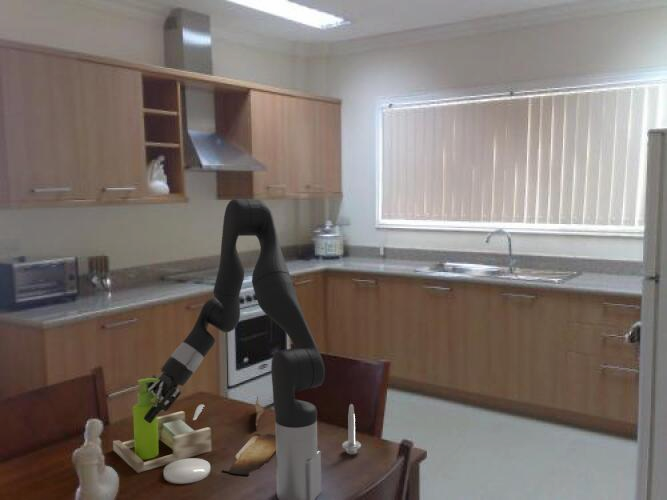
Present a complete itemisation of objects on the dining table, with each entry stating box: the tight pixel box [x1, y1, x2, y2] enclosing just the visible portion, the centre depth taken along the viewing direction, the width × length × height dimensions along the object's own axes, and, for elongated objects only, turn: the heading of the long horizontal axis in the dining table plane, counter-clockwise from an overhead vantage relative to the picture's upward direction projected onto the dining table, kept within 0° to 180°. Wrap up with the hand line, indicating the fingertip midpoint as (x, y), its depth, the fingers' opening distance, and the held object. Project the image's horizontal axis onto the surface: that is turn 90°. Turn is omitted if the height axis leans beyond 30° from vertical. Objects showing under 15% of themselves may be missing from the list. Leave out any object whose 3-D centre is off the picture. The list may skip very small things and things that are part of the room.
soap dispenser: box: [132, 377, 160, 461], centre depth 158 cm, size 6×7×20 cm
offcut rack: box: [112, 410, 212, 474], centre depth 161 cm, size 20×17×6 cm
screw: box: [341, 403, 362, 455], centre depth 159 cm, size 13×5×5 cm
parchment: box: [221, 433, 276, 477], centre depth 159 cm, size 25×10×1 cm, turn 167°
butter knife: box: [192, 404, 205, 421], centre depth 183 cm, size 1×27×3 cm
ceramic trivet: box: [163, 457, 211, 485], centre depth 149 cm, size 11×11×1 cm
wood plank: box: [254, 396, 264, 430], centre depth 182 cm, size 15×2×5 cm, turn 5°
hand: (141, 417), depth 157 cm, fingers open, 6 cm apart
